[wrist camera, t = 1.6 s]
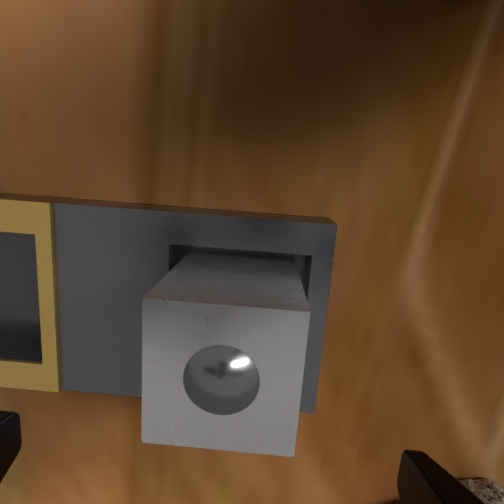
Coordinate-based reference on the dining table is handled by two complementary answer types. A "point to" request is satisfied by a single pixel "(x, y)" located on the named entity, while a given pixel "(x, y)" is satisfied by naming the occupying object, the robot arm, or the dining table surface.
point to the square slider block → (225, 354)
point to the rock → (485, 490)
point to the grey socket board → (126, 283)
